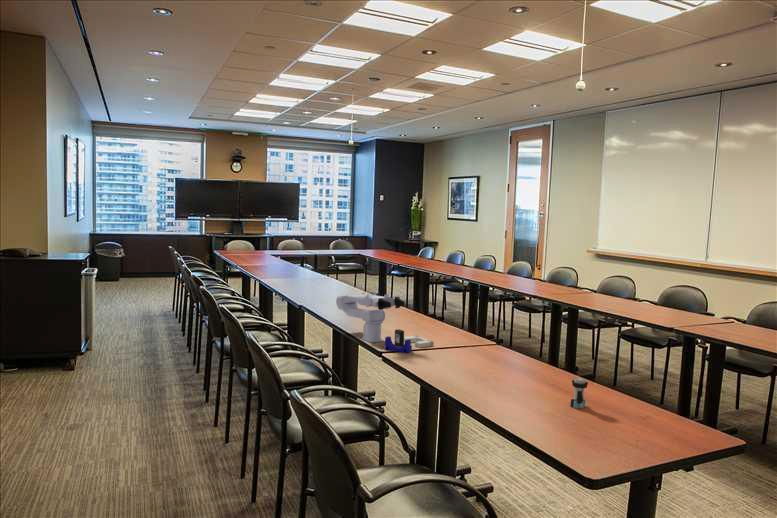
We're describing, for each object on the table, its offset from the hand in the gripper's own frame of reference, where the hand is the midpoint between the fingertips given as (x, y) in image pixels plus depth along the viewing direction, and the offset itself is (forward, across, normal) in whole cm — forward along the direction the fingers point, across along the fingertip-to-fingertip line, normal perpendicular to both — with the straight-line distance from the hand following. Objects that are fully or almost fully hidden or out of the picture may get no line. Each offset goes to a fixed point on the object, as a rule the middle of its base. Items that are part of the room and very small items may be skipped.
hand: (397, 304), depth 261 cm
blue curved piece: (+1, 0, +22) cm, 22 cm away
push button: (+92, +13, +30) cm, 97 cm away
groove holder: (-6, +16, +21) cm, 28 cm away
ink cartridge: (-6, +5, +22) cm, 23 cm away
